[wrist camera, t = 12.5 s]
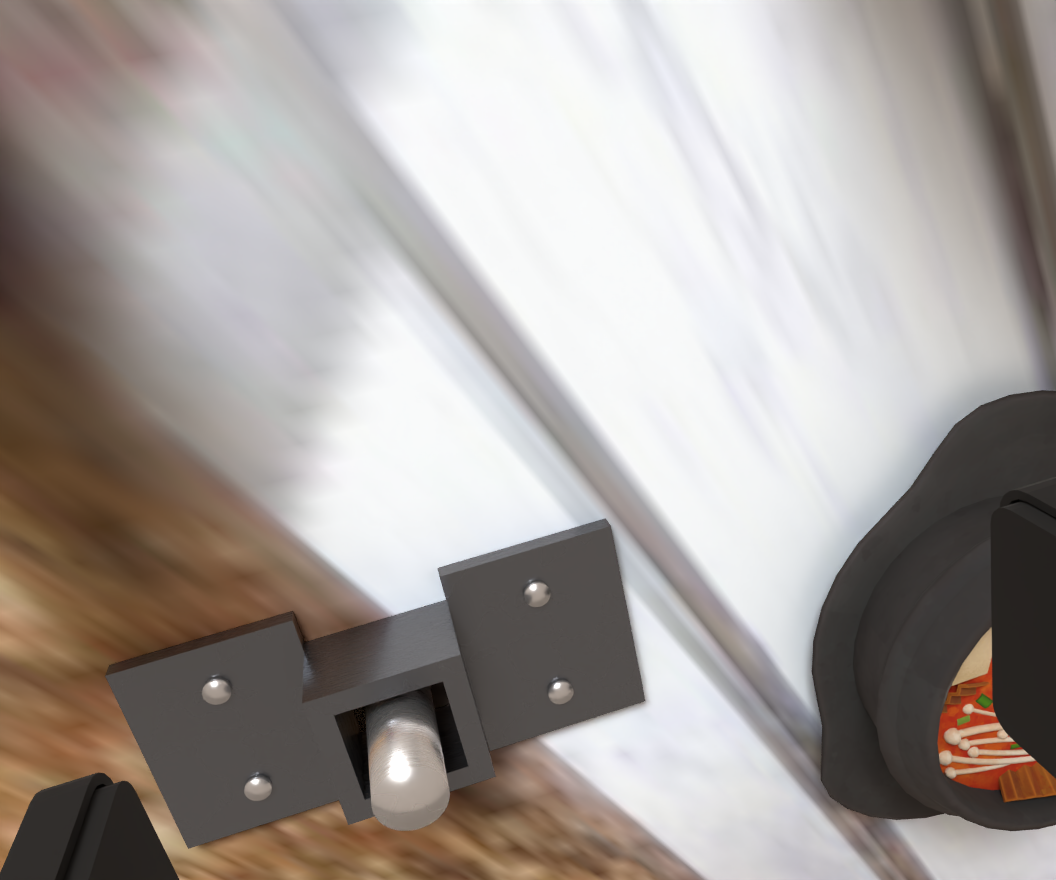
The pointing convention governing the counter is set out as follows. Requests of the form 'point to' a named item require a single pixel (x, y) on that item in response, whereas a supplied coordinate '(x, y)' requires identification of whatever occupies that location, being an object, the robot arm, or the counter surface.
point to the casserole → (933, 639)
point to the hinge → (382, 685)
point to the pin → (406, 761)
